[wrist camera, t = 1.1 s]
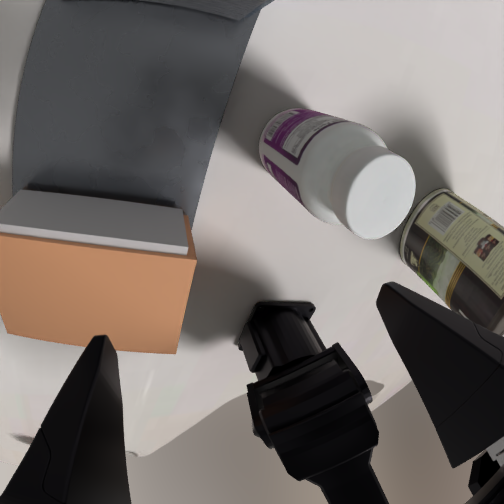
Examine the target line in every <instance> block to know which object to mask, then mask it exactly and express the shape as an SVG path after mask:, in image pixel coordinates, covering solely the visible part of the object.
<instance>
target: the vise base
mask: <svg viewBox="0 0 504 504" xmlns="http://www.w3.org/2000/svg"><path fill="white" fill-rule="evenodd" d="M273 1H274V0H46V2H45V4H44V7H43V10H42V12H41V15H40V18H39V20H38V23H37V26H36V29H35V32H34V36H33V39H32V42H31V46H30V49H29V53H28V57H27V61H26V65H25V69H24V74H23V78H22V83H21V89H20V94H19V100H18V107H17V114H16V123H15V133H14V146H13V173H12V183H13V196H14V195H15V194H16V193H17V192H18V191H19V190H20V189H21V190H31V191H41V192H51V193H61V194H70V195H79V196H87V197H96V198H104V199H112V200H120V201H127V202H135V203H142V204H149V205H157V206H164V207H171V208H177V209H182V210H183V215H188V217H189V223H190V228H191V230H192V226H193V222H194V218H195V213H196V209H197V206H198V202H199V198H200V194H201V190H202V186H203V183H204V179H205V175H206V171H207V168H208V164H209V161H210V157H211V154H212V150H213V147H214V143H215V140H216V137H217V133H218V130H219V127H220V123H221V120H222V117H223V114H224V111H225V107H226V104H227V101H228V98H229V95H230V92H231V89H232V86H233V83H234V80H235V77H236V74H237V71H238V69H239V66H240V63H241V60H242V57H243V55H244V52H245V49H246V46H247V44H248V41H249V38H250V36H251V33H252V30H253V28H254V25H255V23H256V20H257V18H258V15H259V13H260V10H261V9H262V8H263V7H265V6H266V5H268V4H269V3H271V2H273Z"/></svg>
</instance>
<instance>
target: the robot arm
mask: <svg viewBox="0 0 504 504" xmlns="http://www.w3.org/2000/svg"><path fill="white" fill-rule="evenodd" d="M376 305H377V308H378V311H379V313H380V315H381V317H382V320H383V322H384V324H385V326H386V329H387V331H388V333H389V336H390V338H391V340H392V342H393V344H394V346H395V348H396V350H397V352H398V353H399V355H400V357H401V359H402V361H403V363H404V365H405V367H406V369H407V370H408V372H409V374H410V376H411V378H412V380H413V382H414V384H415V386H416V388H417V390H418V392H419V394H420V396H421V398H422V400H423V402H424V405H425V407H426V409H427V411H428V413H429V415H430V417H431V420H432V422H433V424H434V426H435V428H436V431H437V433H438V436H439V438H440V440H441V443H442V445H443V447H444V450H445V452H446V454H447V457H448V459H449V462H450V464H451V467H452V468H455V467H457V466H459V465H460V464H462V463H464V462H466V461H467V460H469V459H471V458H472V457H474V456H476V455H477V454H479V453H480V452H482V451H483V450H484V451H483V452H482V453H481V454H480V455H479V456H478V457H477V458H476V459H475V460H474V461H473V464H472V469H471V475H470V480H469V484H468V487H469V489H470V491H471V492H472V494H473V497H472V498H471V499H470V500H468V501H467V502H466V503H465V504H504V337H503V336H501V335H498V334H496V333H494V332H492V331H490V330H488V329H486V328H484V327H482V326H480V325H478V324H476V323H475V322H472V321H471V320H469V319H467V318H465V317H463V316H461V315H459V314H457V313H455V312H453V311H451V310H450V309H448V308H446V307H444V306H442V305H440V304H438V303H436V302H434V301H432V300H430V299H428V298H426V297H424V296H422V295H420V294H418V293H416V292H414V291H412V290H410V289H408V288H406V287H404V286H402V285H400V284H398V283H395V282H388V283H385V284H383V285H382V287H381V290H380V292H379V295H378V298H377V301H376ZM260 307H261V308H260ZM315 309H316V307H315V306H314V304H306V303H275V302H259V303H257V304H256V305H255V306H254V309H253V311H252V313H251V316H250V318H249V320H248V322H247V323H246V325H245V327H244V330H243V332H242V334H241V337H240V339H239V340H240V341H239V344H238V348H239V350H241V351H243V352H244V355H245V358H246V361H247V364H248V367H249V370H250V371H251V372H252V373H256V376H257V379H258V381H257V382H255V383H250V384H247V389H248V393H247V396H248V401H249V405H250V410H251V415H252V426H253V433H254V435H255V436H257V437H260V438H261V439H262V440H263V441H264V443H265V445H266V446H267V447H268V448H270V449H272V448H275V450H276V452H277V454H278V456H279V457H280V459H281V461H282V463H283V465H284V467H285V468H286V471H287V473H288V474H289V475H291V476H292V477H293V478H295V479H296V480H298V481H301V480H304V479H306V480H307V481H310V482H311V483H313V484H315V485H318V486H319V487H320V488H321V490H322V492H323V494H324V496H325V498H326V499H327V501H328V503H329V504H389V503H388V501H387V498H386V496H385V494H384V492H383V490H382V488H381V486H380V483H379V481H378V479H377V477H376V475H375V473H374V471H373V469H372V466H371V465H370V461H371V457H372V452H373V448H374V447H375V446H377V445H378V437H379V431H378V429H377V426H376V423H375V420H374V418H373V416H372V414H371V411H370V409H369V407H368V404H369V403H371V402H372V396H371V393H370V390H369V388H368V386H367V384H366V382H365V380H364V378H363V376H362V374H361V373H360V371H359V370H358V369H357V367H356V366H355V364H354V363H353V362H352V360H351V359H350V358H349V356H348V355H347V354H346V352H345V351H344V350H343V348H342V347H341V346H340V344H339V343H338V342H337V343H335V344H333V345H332V347H330V348H328V349H326V347H325V346H324V344H323V342H322V340H321V339H320V337H319V335H318V334H317V332H316V330H315V328H314V327H313V325H312V323H311V321H310V318H311V317H312V315H313V313H314V311H315ZM0 504H131V498H130V492H129V484H128V476H127V467H126V457H125V444H124V427H123V404H122V395H121V387H120V378H119V368H118V358H117V353H116V351H115V349H114V347H113V345H112V343H111V341H110V339H109V337H108V336H107V335H106V334H103V335H95V336H93V338H92V339H91V341H90V342H89V344H88V345H87V347H86V348H85V350H84V352H83V353H82V355H81V356H80V358H79V360H78V361H77V363H76V364H75V366H74V368H73V369H72V371H71V373H70V374H69V376H68V378H67V379H66V381H65V383H64V384H63V386H62V388H61V390H60V391H59V393H58V395H57V397H56V398H55V400H54V402H53V404H52V406H51V407H50V409H49V411H48V413H47V415H46V417H45V419H44V420H43V422H42V424H41V428H39V430H38V432H37V434H36V436H35V438H34V440H33V441H32V443H31V445H30V447H29V449H28V451H27V453H26V454H25V456H24V458H23V460H22V461H21V463H20V465H19V466H18V468H17V470H16V472H15V473H14V475H13V477H12V478H11V480H10V482H9V484H8V485H7V487H6V489H5V490H4V492H3V493H2V495H1V496H0Z"/></svg>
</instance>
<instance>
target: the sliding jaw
mask: <svg viewBox="0 0 504 504" xmlns="http://www.w3.org/2000/svg"><path fill="white" fill-rule="evenodd" d="M196 262H197V257H196V253H195V248H194V243H193V238H192V233H191V228H190V223H189V217H188V215H183V210H182V209H177V208H171V207H164V206H157V205H149V204H142V203H135V202H127V201H120V200H112V199H104V198H96V197H87V196H79V195H70V194H61V193H51V192H41V191H31V190H21V189H20V190H19V191H18V192H17V193H16V194H15V195H14V196H13V197H12V198H11V199H10V200H9V201H8V202H7V203H6V204H5V205H4V206H3V207H2V209H1V210H0V313H1V316H2V319H3V322H4V325H5V328H6V330H7V333H9V334H13V335H18V336H23V337H28V338H33V339H38V340H44V341H50V342H56V343H62V344H69V345H76V346H83V347H87V345H88V344H89V342H90V341H91V339H92V338H93V336H95V335H103V334H106V335H107V336H108V337H109V339H110V341H111V343H112V345H113V347H114V349H115V350H119V351H130V352H144V353H161V354H176V351H177V346H178V341H179V337H180V332H181V327H182V323H183V318H184V313H185V309H186V305H187V300H188V296H189V292H190V287H191V283H192V279H193V275H194V271H195V267H196Z"/></svg>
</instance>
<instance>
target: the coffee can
mask: <svg viewBox="0 0 504 504" xmlns="http://www.w3.org/2000/svg"><path fill="white" fill-rule="evenodd" d="M400 255H401V258H402V260H403V262H404V263H405V264H406V265H407V266H409V267H410V268H411V269H412V270H413V271H414V272H415V273H416V274H417V275H418V276H419V277H420V278H421V279H422V280H423V281H424V282H425V283H426V284H427V285H428V286H429V287H430V288H431V289H432V290H433V291H434V292H435V293H436V294H437V295H438V296H439V297H440V298H441V299H442V300H443V301H444V302H445V304H446V305H447V306H448V307H449V308H450V309H451V310H452V311H453V312H455V313H457V314H459V315H461V316H463V317H465V318H467V319H469V320H471V321H472V322H475V323H476V324H478V325H480V326H482V327H484V328H486V329H488V330H490V331H492V332H494V333H496V334H498V335H501V336H502V335H503V334H504V227H503V226H501V225H500V224H499V223H497V222H496V221H494V220H493V219H492V218H490V217H489V216H487V215H486V214H485V213H483V212H482V211H480V210H479V209H477V208H476V207H474V206H473V205H471V204H470V203H468V202H467V201H465V200H463V199H462V198H460V197H459V196H457V195H456V194H454V193H453V192H452V191H450V190H449V189H438V190H435V191H433V192H431V193H430V194H429V195H428V196H426V197H425V198H424V199H423V200H422V201H421V202H420V203H419V204H418V206H417V207H416V208H415V210H414V211H413V213H412V214H411V216H410V217H409V219H408V222H407V224H406V226H405V228H404V231H403V234H402V238H401V243H400Z"/></svg>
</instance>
